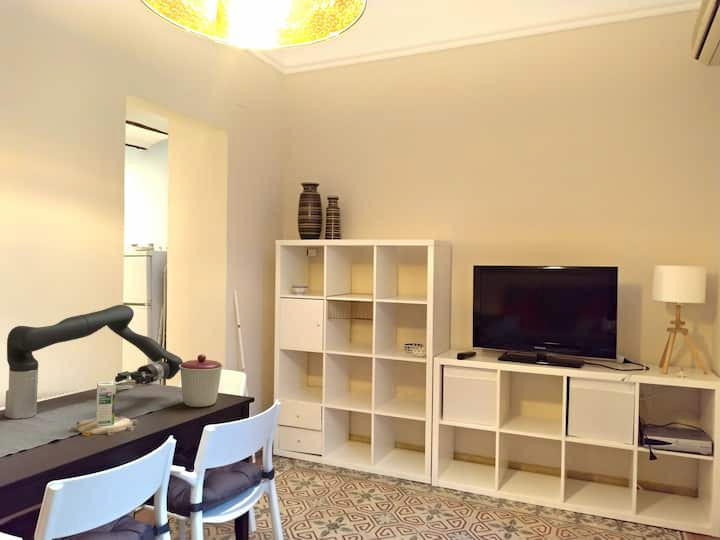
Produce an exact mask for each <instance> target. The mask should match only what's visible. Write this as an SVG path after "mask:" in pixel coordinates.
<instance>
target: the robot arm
mask: <svg viewBox="0 0 720 540" xmlns="http://www.w3.org/2000/svg"><path fill="white" fill-rule="evenodd" d="M134 313H135V312H134V309H132V307H130V306H129V305H126V304H117V305H113V306H110V307H107V308H104V309H102V310H97V311H94V312H93V311H92V312H89V313H85V314H79V315H73V316H70V317H67V318H64V319H62V320H60V321H59V322H58V323H55V324H52V325H47V326H40V327H39V326H37V327H35V326H28V325H27V326H26V325H17V326H15V327H13V328H12V329H11V330H10V331H9V333H8V335H7V339H6V361H7V364H8V366H9V367H8V389H7V390H6V391H5V404H4V405H5V408H4V417H7V418H9V419H14V420H15V419H17V420H19V419H20V418H21V419H28V418H32V417H34V415H35V416H36V415H37V407H38V406H37V405H38V385H39V383H38V382H39V361H38V360H37V359H36V358H35V357H34V355H33V352H37V351H39V350H43V349H45V348H48V347H50V346H52V345H55V344H60V343H65V342H69V341H70V342H71V341H75V340H79V339H83V338H86V337H89V336H91V335H93V334H95V333H96V332H98V331H100V330H101V329H104V328H105V327H108V329H109V330H111V332H113V333H114V334H116V335H118V336H119V337H121V338H122V339H123V340H125V341H127V342H128V343H129V344H131V345H133V346H134V347H136V348H137V349H138V350H139V351H140V352H142V353H143V354H144V355H145V356H146V357H147V358H148V359H149V360H150V361H152V362H153V363H149V364H145V365H141V366H140V367H138V368H137V369H136V370H134V371H128V370H127V371H124V372H119V373H117V376H115V378H114V382H115V383H119V382H124V381H126V382H134V383H135V385H140V384H141V385H149V384H152V383H155V382H158V381H159V380H171V379H173V378H174V377H175V376H176V375H177V374H178V373H179V372H180V371H181V369H180V368H179V365H180V364H182V363H183V362H184V361H183V360H182V358H181V357H180V356H177V355H176V354H174V353H172V352H170V351H168V350H167V349H165V348H164V347H162V346H161V345H160V343H158V342H157V341H156V340H155V339H153V338H152V337H148V336H146V335H143V334H142V335H141V334H138V333H136V332H134V331H133V330H132V329H131V328H130V327H129V325H130V323H131V321H132V320H133V319H134V315H135V314H134ZM162 359H164V360H165V361H161V360H162ZM21 419H20V420H21Z"/></svg>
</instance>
